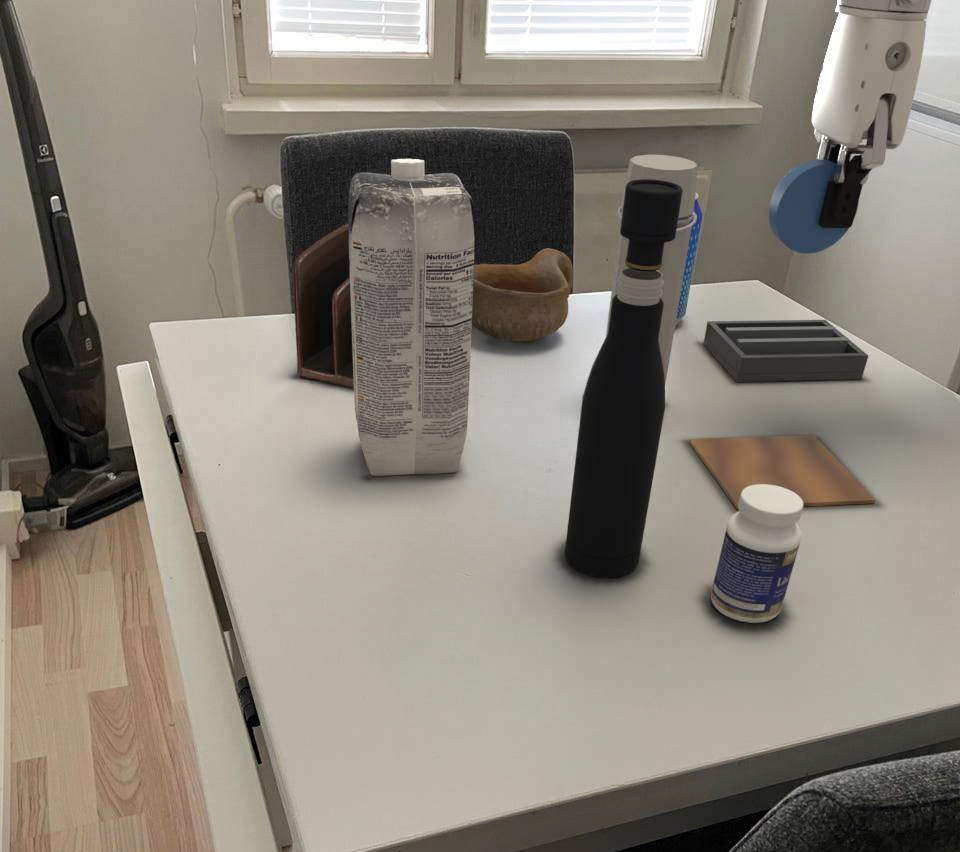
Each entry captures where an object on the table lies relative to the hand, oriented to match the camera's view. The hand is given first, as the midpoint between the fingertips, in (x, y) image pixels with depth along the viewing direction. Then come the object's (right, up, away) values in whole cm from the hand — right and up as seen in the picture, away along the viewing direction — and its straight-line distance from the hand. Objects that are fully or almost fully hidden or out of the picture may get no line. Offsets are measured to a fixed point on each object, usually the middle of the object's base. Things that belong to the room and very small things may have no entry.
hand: (828, 221), depth 95 cm
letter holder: (-46, -6, +24) cm, 52 cm away
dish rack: (+4, -5, +28) cm, 29 cm away
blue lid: (0, -2, +1) cm, 2 cm away
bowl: (-28, 0, +33) cm, 43 cm away
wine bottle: (-23, -33, -9) cm, 42 cm away
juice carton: (-40, -22, +3) cm, 46 cm away
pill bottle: (-12, -38, -14) cm, 42 cm away
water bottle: (-17, -14, +16) cm, 27 cm away
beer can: (-10, +3, +38) cm, 40 cm away
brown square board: (-3, -23, +5) cm, 24 cm away
